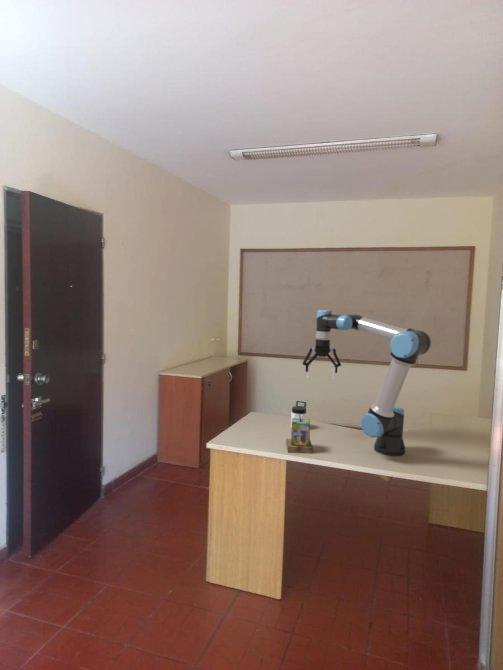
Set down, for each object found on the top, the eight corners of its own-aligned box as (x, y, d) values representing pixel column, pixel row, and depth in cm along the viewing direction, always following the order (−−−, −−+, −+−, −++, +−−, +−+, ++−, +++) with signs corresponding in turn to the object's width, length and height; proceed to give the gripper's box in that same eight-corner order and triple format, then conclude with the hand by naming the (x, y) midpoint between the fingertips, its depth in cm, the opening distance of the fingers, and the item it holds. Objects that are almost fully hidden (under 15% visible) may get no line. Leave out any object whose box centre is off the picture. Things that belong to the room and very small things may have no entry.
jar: (296, 425, 272) (297, 405, 270) (308, 428, 266) (309, 407, 265) (288, 428, 265) (288, 407, 263) (300, 431, 260) (300, 410, 258)
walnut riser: (309, 445, 237) (309, 439, 236) (312, 453, 225) (312, 447, 224) (286, 444, 237) (286, 438, 236) (288, 452, 225) (288, 446, 224)
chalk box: (309, 446, 225) (310, 417, 224) (290, 445, 226) (292, 416, 225) (309, 440, 234) (310, 412, 233) (291, 439, 235) (292, 411, 234)
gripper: (345, 339, 247) (342, 378, 249) (298, 337, 247) (296, 376, 249) (347, 340, 240) (345, 380, 242) (300, 339, 240) (298, 379, 242)
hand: (320, 378), depth 245 cm, fingers open, 13 cm apart
